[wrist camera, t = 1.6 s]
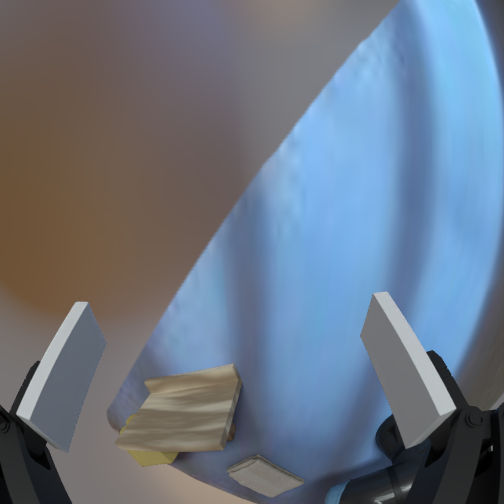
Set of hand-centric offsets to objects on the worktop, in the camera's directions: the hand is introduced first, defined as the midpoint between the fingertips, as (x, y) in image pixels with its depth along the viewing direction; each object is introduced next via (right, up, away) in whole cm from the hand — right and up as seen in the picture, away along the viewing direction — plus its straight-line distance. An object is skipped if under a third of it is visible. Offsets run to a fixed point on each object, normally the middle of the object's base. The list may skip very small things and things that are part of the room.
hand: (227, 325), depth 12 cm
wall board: (-9, -28, +38) cm, 48 cm away
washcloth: (+5, -53, +41) cm, 67 cm away
